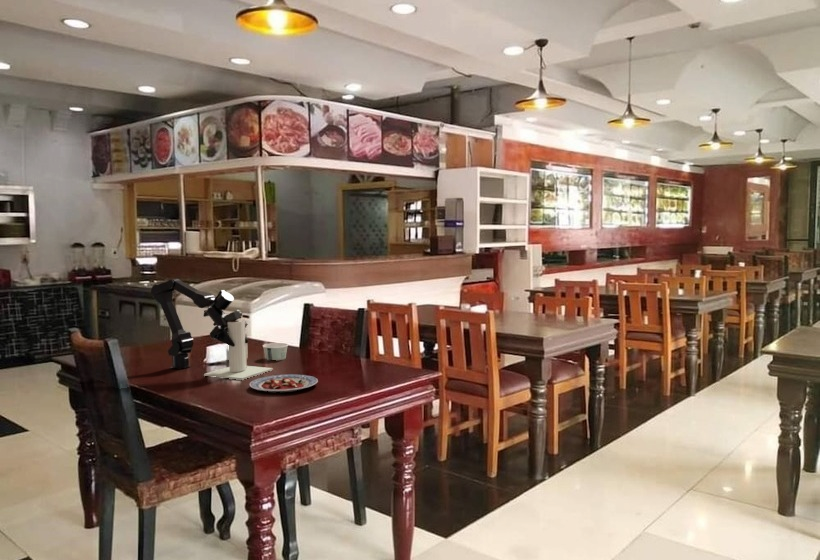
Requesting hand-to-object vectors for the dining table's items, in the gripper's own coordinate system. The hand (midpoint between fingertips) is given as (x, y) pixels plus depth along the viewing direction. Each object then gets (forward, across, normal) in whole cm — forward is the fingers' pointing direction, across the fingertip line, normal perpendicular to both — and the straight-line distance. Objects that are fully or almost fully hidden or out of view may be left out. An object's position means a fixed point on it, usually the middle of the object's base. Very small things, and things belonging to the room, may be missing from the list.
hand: (240, 344), depth 260 cm
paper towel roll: (+7, 0, +10) cm, 12 cm away
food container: (+5, +32, +13) cm, 35 cm away
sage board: (+8, 0, +10) cm, 13 cm away
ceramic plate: (+31, -13, -12) cm, 35 cm away
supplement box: (-6, +24, +24) cm, 34 cm away
